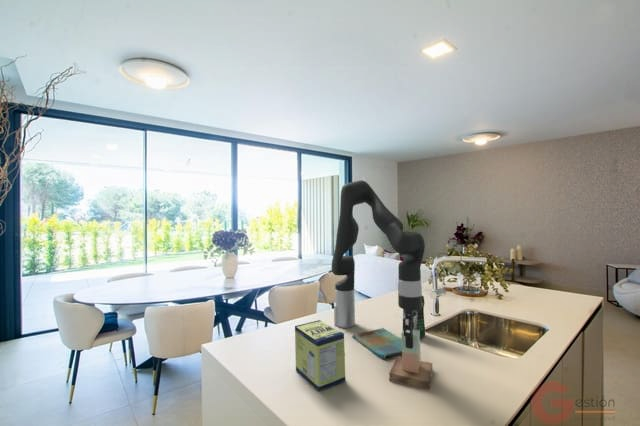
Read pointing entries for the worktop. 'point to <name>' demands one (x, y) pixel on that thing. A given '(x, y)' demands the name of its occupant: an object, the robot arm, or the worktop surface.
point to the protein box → (320, 354)
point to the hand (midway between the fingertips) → (410, 343)
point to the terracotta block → (411, 362)
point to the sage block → (415, 342)
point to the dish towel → (381, 343)
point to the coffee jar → (420, 319)
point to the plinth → (411, 374)
